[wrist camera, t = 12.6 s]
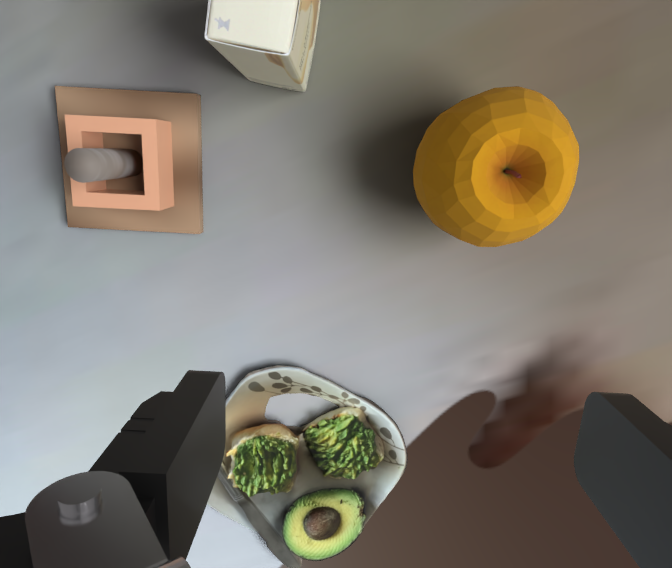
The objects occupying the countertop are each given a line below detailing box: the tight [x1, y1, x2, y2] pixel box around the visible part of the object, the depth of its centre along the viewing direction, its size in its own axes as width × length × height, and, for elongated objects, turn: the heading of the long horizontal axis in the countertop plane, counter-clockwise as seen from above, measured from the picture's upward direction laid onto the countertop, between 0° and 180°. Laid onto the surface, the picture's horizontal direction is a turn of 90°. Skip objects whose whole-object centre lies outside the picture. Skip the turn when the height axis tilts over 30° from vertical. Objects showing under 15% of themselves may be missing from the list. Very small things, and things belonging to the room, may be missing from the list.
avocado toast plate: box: [207, 365, 407, 568], centre depth 41 cm, size 19×18×5 cm
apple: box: [413, 86, 579, 247], centre depth 31 cm, size 10×10×12 cm
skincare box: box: [205, 0, 321, 92], centre depth 29 cm, size 6×4×12 cm
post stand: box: [55, 86, 203, 234], centre depth 33 cm, size 10×10×8 cm
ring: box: [65, 115, 174, 211], centre depth 34 cm, size 6×6×3 cm
